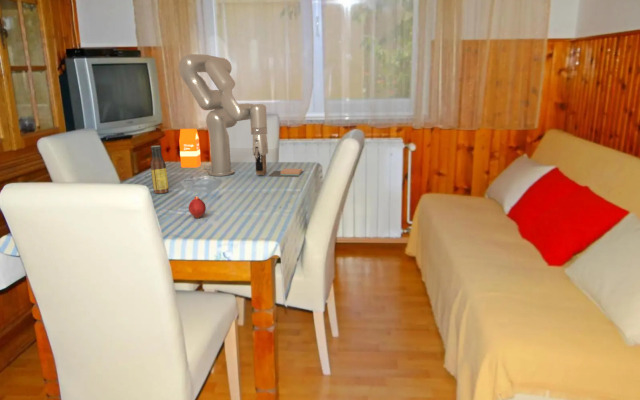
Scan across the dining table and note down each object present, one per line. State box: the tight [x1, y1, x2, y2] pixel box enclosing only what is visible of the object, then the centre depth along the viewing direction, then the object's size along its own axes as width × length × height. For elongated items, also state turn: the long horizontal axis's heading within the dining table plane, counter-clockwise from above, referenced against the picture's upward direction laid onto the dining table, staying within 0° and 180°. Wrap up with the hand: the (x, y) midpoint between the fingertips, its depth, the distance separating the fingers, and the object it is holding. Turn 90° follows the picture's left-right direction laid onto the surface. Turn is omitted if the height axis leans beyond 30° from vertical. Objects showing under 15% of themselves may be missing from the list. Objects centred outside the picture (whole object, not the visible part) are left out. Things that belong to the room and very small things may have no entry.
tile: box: [280, 168, 303, 176], centre depth 252 cm, size 2×8×9 cm
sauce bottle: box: [150, 145, 170, 195], centre depth 218 cm, size 6×6×20 cm
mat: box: [268, 170, 304, 178], centre depth 252 cm, size 15×14×1 cm
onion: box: [188, 195, 207, 219], centre depth 181 cm, size 6×6×8 cm
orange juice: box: [178, 128, 202, 168], centre depth 277 cm, size 8×9×20 cm
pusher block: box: [254, 154, 267, 176], centre depth 246 cm, size 4×4×10 cm
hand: (260, 169), depth 247 cm, fingers closed on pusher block, 4 cm apart
